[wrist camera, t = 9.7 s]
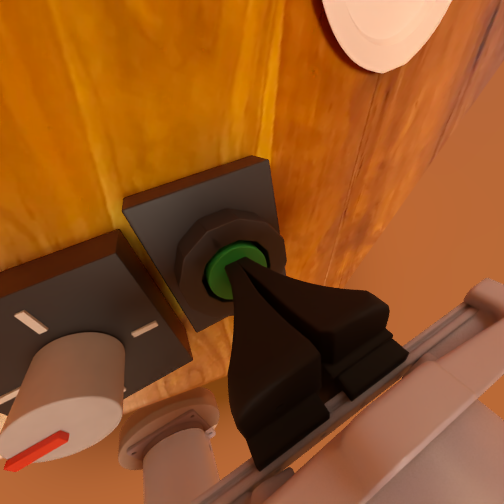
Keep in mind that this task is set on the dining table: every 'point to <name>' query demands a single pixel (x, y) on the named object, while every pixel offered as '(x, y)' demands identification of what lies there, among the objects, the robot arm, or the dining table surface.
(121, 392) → the timer knob
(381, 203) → the dining table surface
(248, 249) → the button
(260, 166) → the button block
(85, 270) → the timer panel
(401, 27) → the candle holder
